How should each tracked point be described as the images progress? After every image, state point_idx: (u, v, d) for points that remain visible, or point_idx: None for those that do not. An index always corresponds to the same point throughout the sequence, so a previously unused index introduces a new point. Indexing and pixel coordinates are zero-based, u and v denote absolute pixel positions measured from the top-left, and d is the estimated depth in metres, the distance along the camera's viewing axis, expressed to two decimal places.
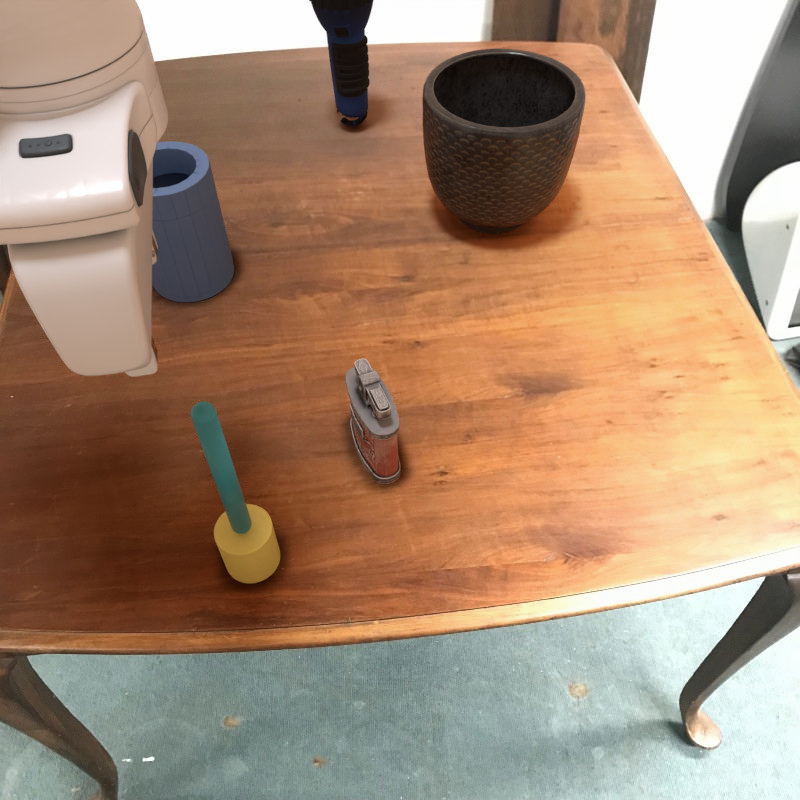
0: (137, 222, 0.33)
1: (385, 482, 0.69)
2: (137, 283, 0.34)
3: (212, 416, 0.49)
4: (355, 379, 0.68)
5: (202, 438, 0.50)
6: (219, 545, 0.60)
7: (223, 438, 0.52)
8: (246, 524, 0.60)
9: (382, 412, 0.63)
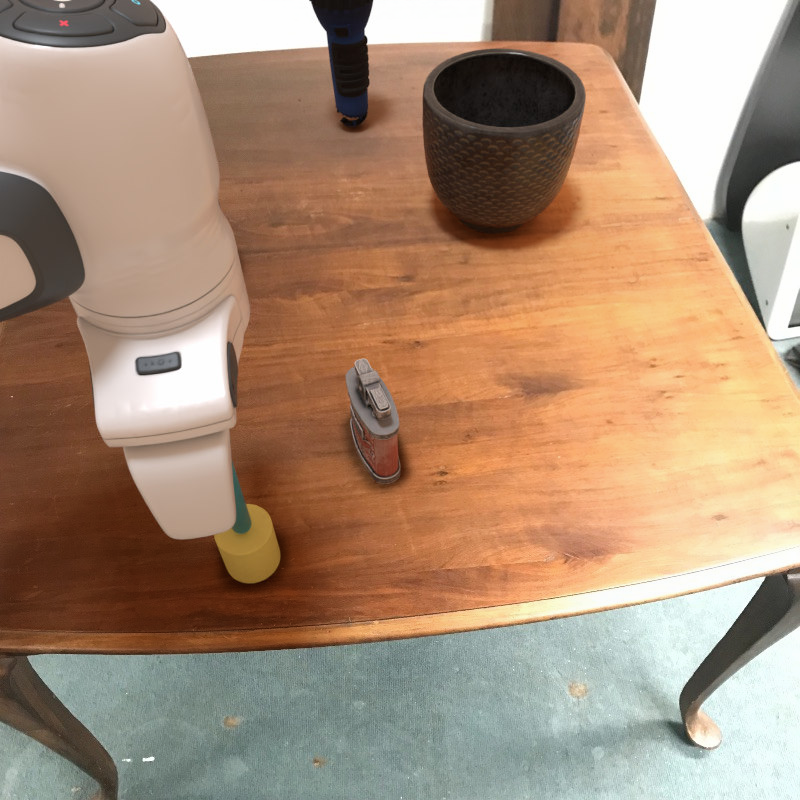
0: (234, 424, 0.38)
1: (385, 482, 0.69)
2: (230, 469, 0.40)
3: None
4: (355, 379, 0.68)
5: None
6: (219, 545, 0.60)
7: None
8: (246, 524, 0.60)
9: (382, 412, 0.63)
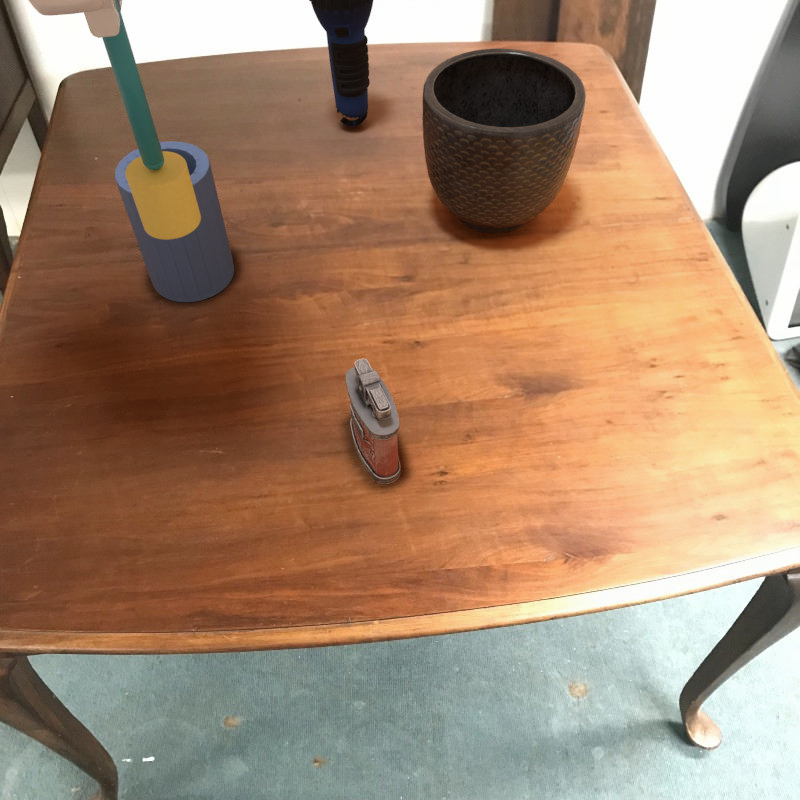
0: None
1: (385, 482, 0.69)
2: None
3: None
4: (355, 379, 0.68)
5: None
6: (130, 180, 0.58)
7: (116, 4, 0.49)
8: (157, 154, 0.57)
9: (382, 412, 0.63)
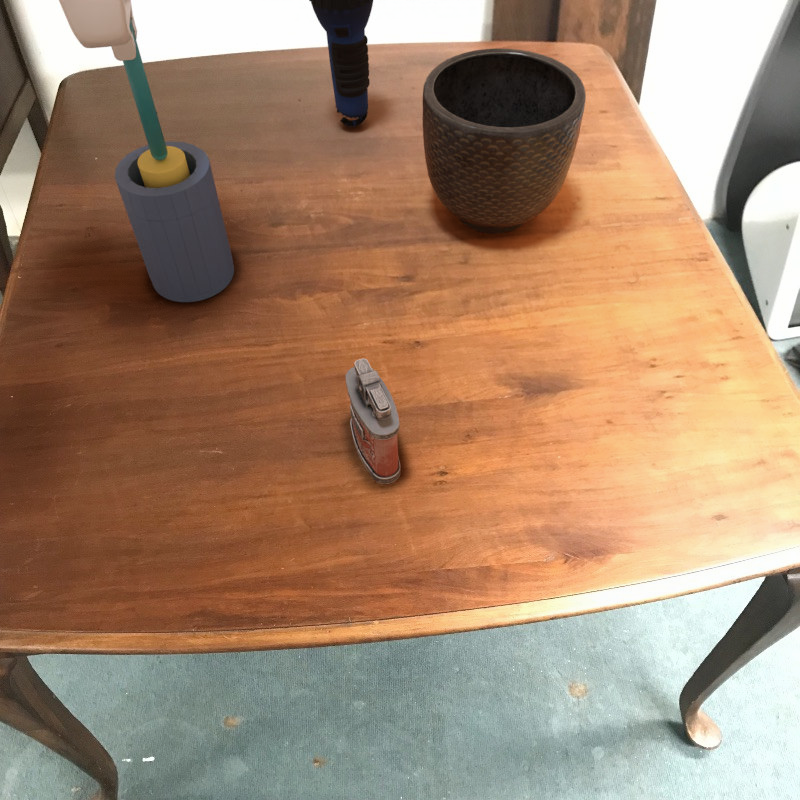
0: None
1: (385, 482, 0.69)
2: None
3: None
4: (355, 379, 0.68)
5: None
6: (141, 168, 0.75)
7: (134, 35, 0.66)
8: (162, 148, 0.74)
9: (382, 412, 0.63)
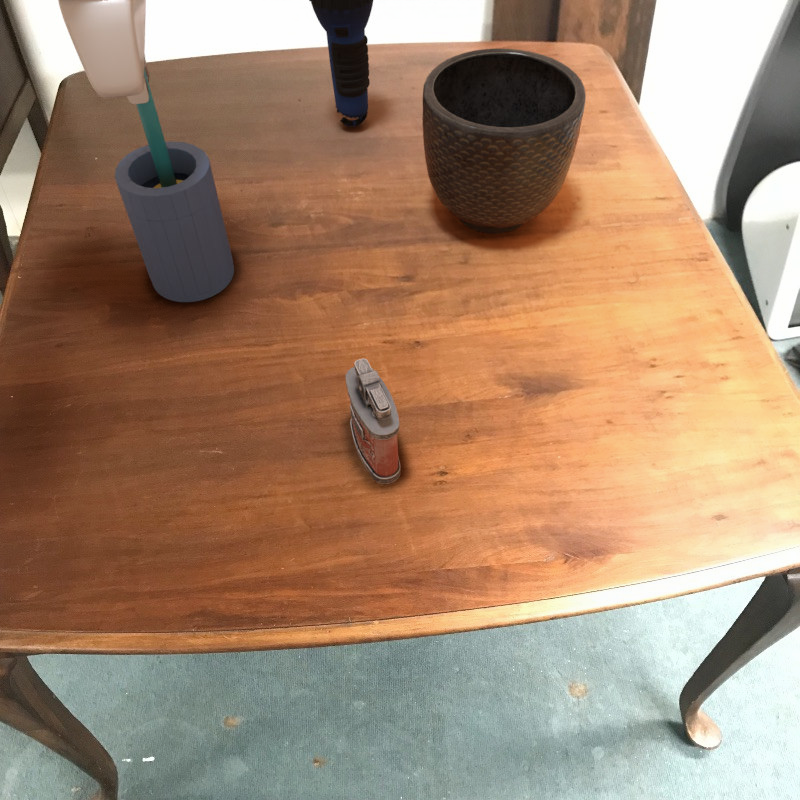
0: None
1: (385, 482, 0.69)
2: (134, 27, 0.57)
3: None
4: (355, 379, 0.68)
5: None
6: None
7: (146, 80, 0.69)
8: (172, 183, 0.77)
9: (382, 412, 0.63)
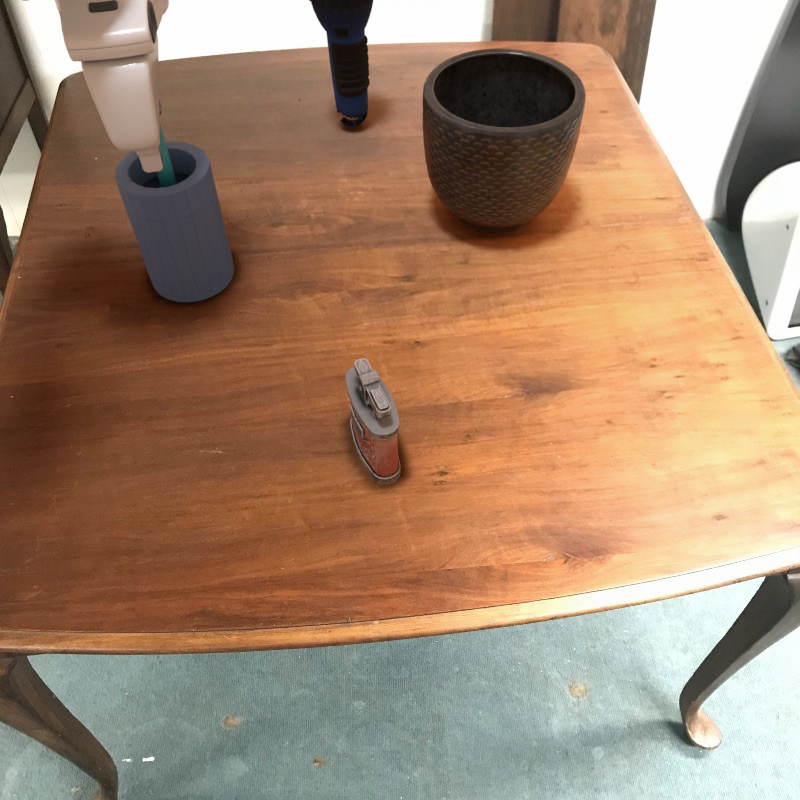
0: (153, 50, 0.60)
1: (385, 482, 0.69)
2: (152, 88, 0.61)
3: None
4: (355, 379, 0.68)
5: None
6: None
7: (161, 131, 0.73)
8: None
9: (382, 412, 0.63)
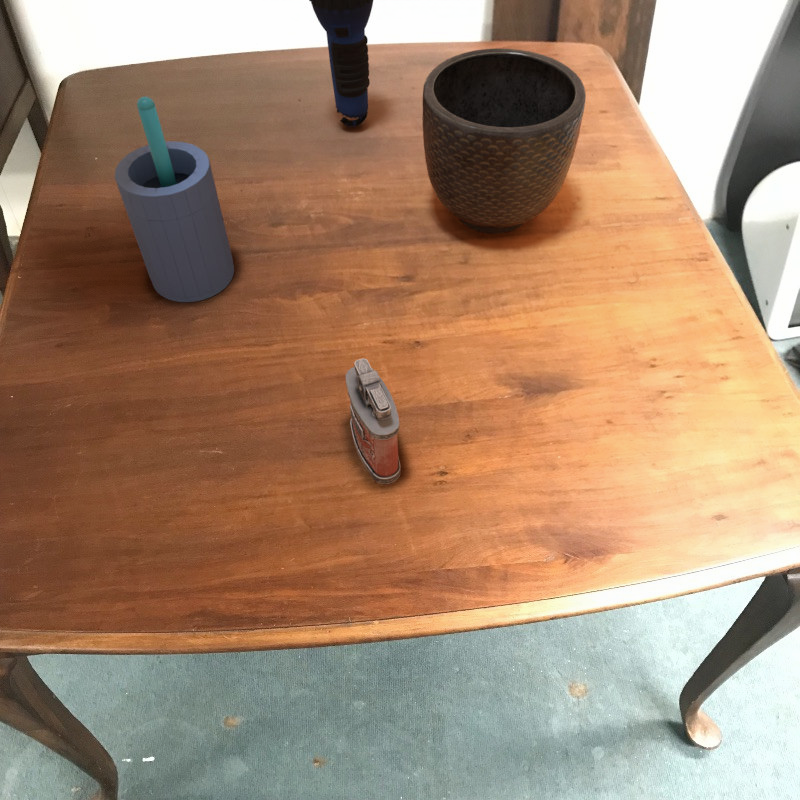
0: None
1: (385, 482, 0.69)
2: None
3: (151, 105, 0.71)
4: (355, 379, 0.68)
5: (145, 126, 0.72)
6: None
7: (161, 131, 0.73)
8: None
9: (382, 412, 0.63)
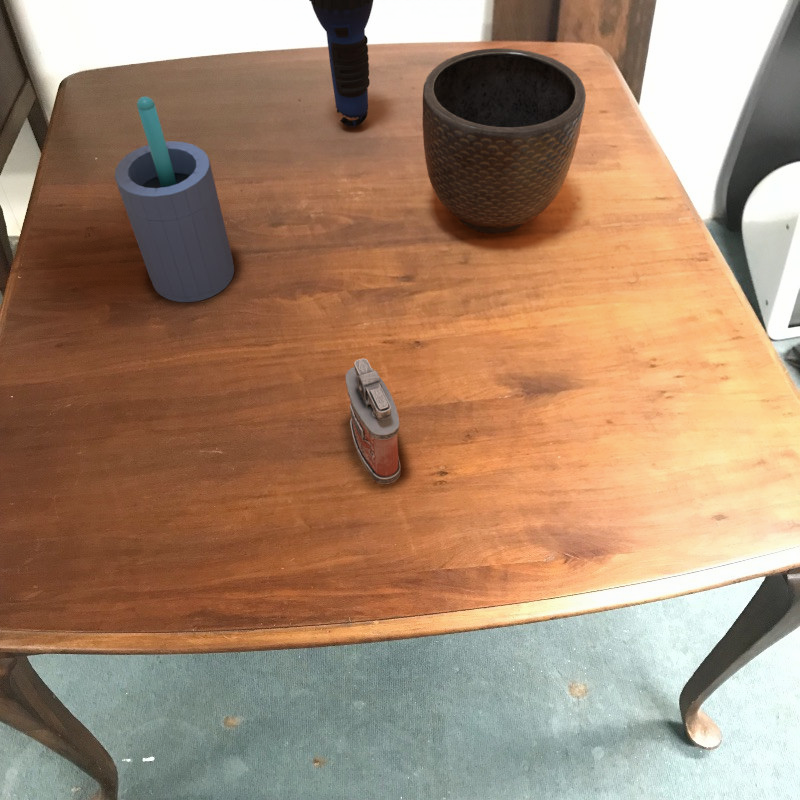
0: None
1: (385, 482, 0.69)
2: None
3: (151, 105, 0.71)
4: (355, 379, 0.68)
5: (145, 126, 0.72)
6: None
7: (161, 131, 0.73)
8: None
9: (382, 412, 0.63)
